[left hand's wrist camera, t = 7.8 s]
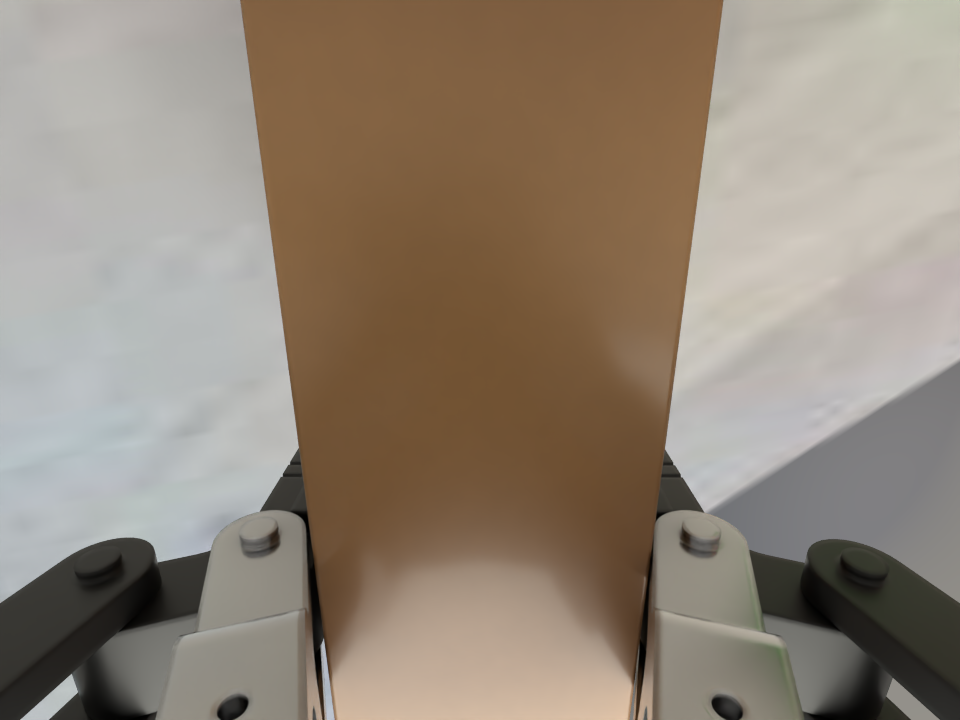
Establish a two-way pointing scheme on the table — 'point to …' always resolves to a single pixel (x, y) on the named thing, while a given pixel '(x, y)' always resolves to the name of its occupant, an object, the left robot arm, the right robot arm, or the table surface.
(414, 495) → the bar
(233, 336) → the table surface
